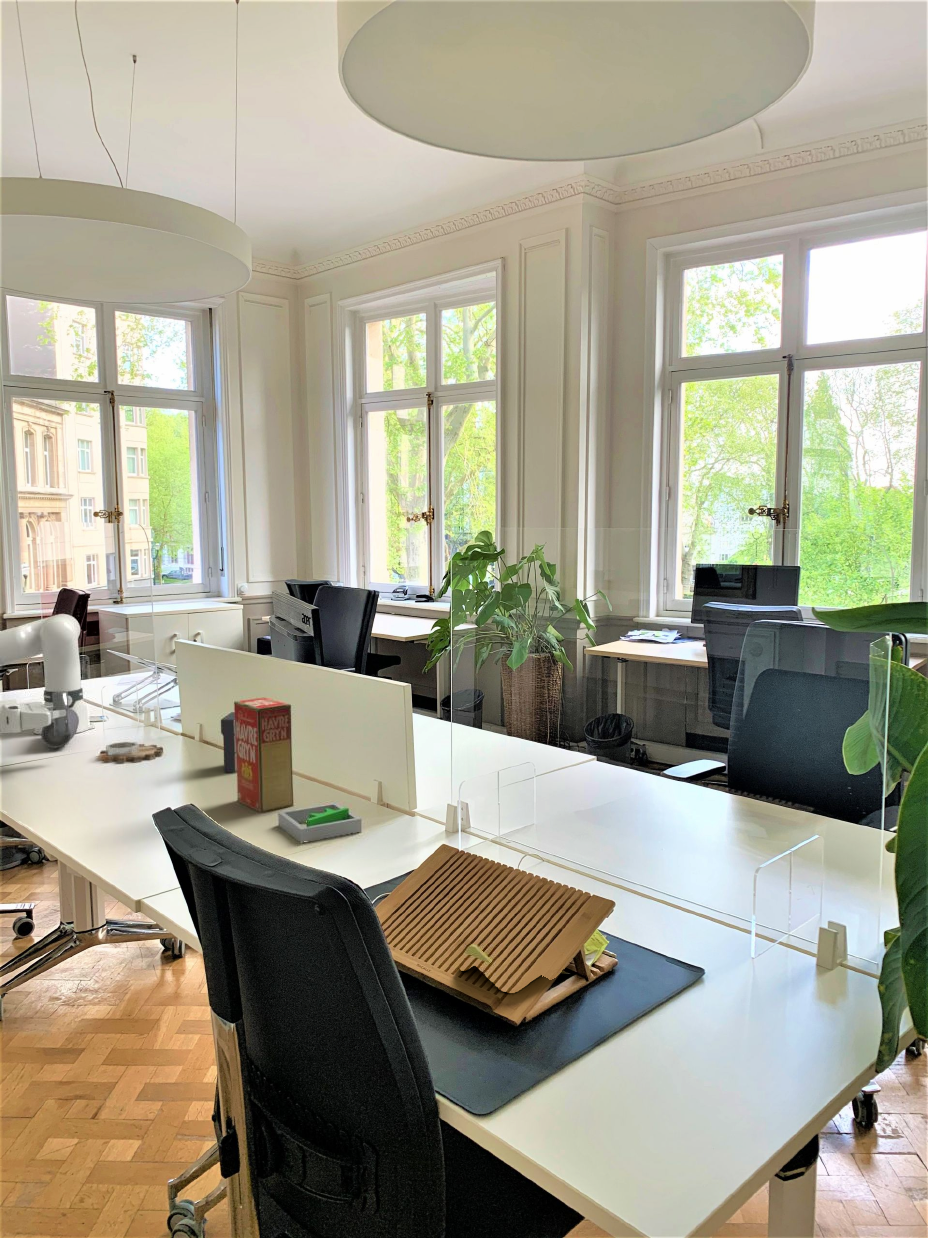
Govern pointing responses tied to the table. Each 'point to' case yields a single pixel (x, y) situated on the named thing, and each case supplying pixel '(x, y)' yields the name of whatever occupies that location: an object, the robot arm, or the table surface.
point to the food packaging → (264, 754)
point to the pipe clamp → (328, 816)
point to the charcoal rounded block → (229, 743)
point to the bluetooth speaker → (60, 741)
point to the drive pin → (63, 722)
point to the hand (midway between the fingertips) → (64, 711)
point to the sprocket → (129, 752)
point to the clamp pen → (316, 832)
